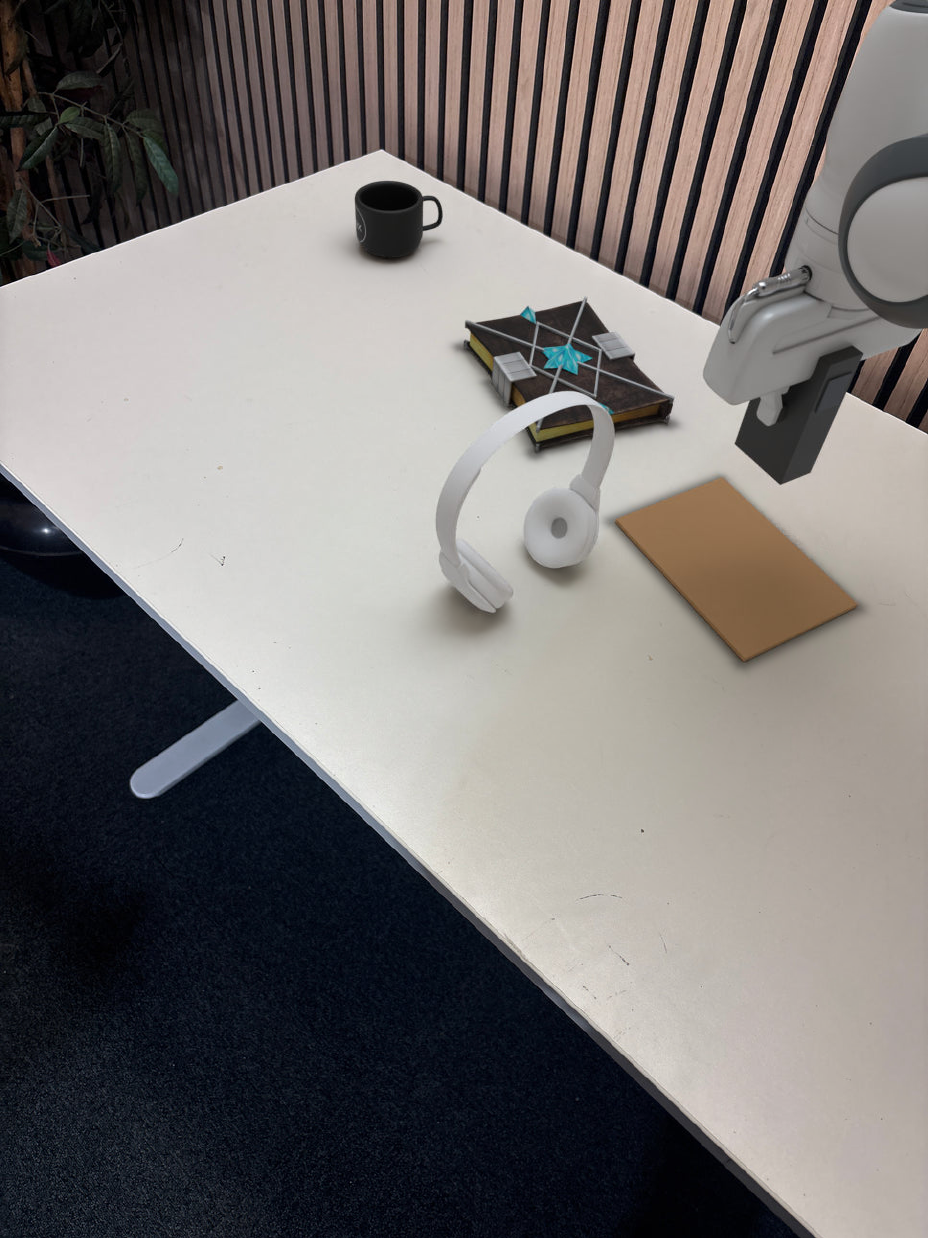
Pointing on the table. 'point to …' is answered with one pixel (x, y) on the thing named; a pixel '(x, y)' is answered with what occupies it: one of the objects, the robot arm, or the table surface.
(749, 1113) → the table surface
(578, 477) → the headphones
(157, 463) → the table surface
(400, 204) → the mug
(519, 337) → the book
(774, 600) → the mat
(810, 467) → the device
